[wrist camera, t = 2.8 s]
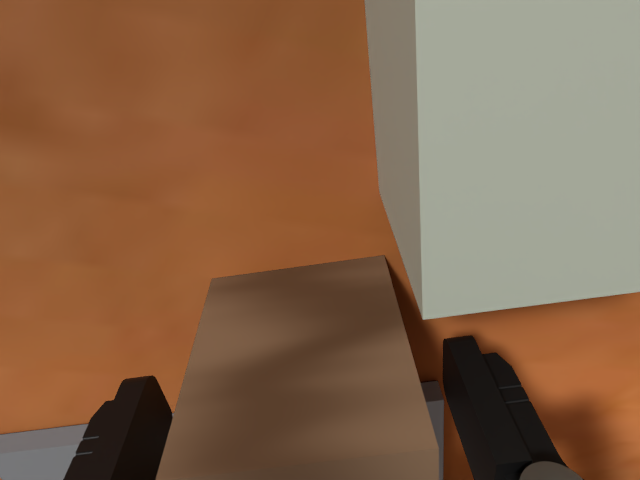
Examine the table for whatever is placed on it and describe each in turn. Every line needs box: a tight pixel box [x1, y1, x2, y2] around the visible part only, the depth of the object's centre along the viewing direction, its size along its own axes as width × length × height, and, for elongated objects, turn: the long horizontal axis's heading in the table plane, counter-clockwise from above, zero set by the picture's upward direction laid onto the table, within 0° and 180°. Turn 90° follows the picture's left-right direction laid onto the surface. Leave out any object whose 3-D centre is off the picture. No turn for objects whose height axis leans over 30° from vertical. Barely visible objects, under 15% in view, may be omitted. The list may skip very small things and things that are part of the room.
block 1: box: [156, 255, 439, 480], centre depth 12 cm, size 5×5×6 cm
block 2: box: [365, 0, 640, 320], centre depth 8 cm, size 5×5×5 cm
